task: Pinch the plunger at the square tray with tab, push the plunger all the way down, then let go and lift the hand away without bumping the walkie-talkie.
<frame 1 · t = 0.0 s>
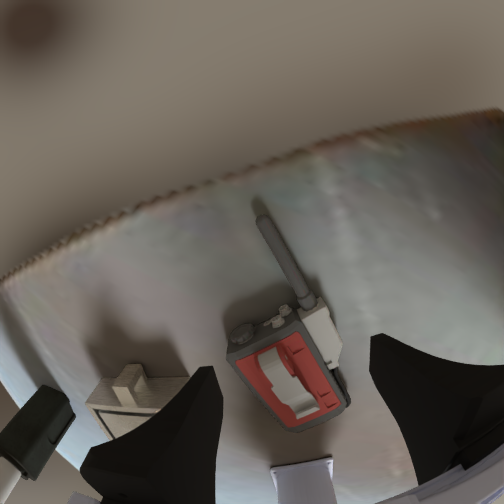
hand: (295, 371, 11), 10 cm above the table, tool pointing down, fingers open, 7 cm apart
walkie-talkie: (283, 337, 23), on the table
square tray with tab: (159, 413, 24), on the table
plunger: (141, 463, 17), point 7 cm above the table, slide at 3.5 cm
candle: (58, 401, 25), on the table
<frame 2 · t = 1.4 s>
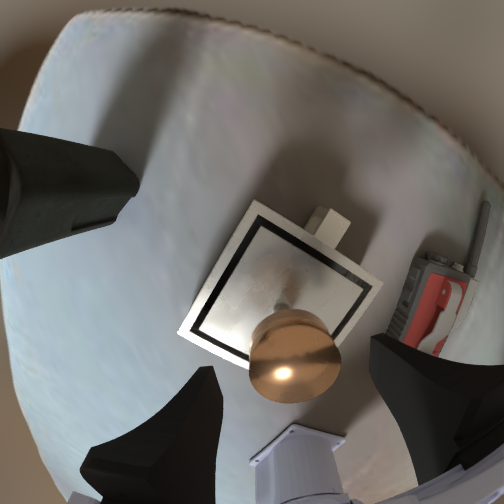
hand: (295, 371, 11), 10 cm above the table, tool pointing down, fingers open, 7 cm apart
walkie-talkie: (433, 287, 22), on the table
square tray with tab: (275, 287, 21), on the table
plunger: (287, 333, 14), point 7 cm above the table, slide at 3.5 cm
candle: (107, 187, 20), on the table
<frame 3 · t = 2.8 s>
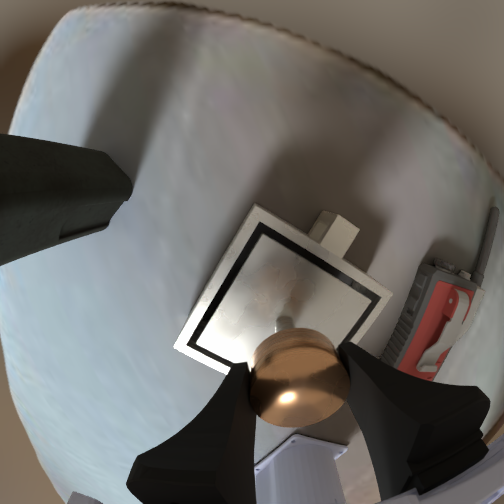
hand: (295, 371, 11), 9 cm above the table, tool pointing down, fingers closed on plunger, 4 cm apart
walkie-talkie: (438, 295, 21), on the table
square tray with tab: (278, 297, 20), on the table
plunger: (290, 350, 13), point 7 cm above the table, slide at 3.5 cm, touching gripper
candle: (99, 190, 19), on the table
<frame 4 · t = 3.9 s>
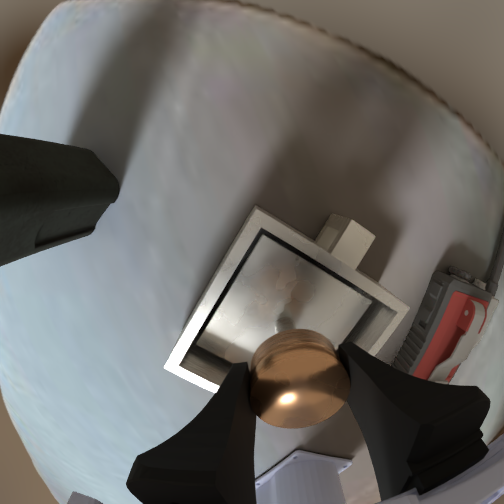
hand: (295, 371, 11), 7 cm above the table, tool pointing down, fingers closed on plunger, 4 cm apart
walkie-talkie: (450, 304, 19), on the table
square tray with tab: (281, 310, 18), on the table
plunger: (291, 351, 13), point 5 cm above the table, slide at 1.3 cm, touching gripper
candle: (84, 192, 16), on the table
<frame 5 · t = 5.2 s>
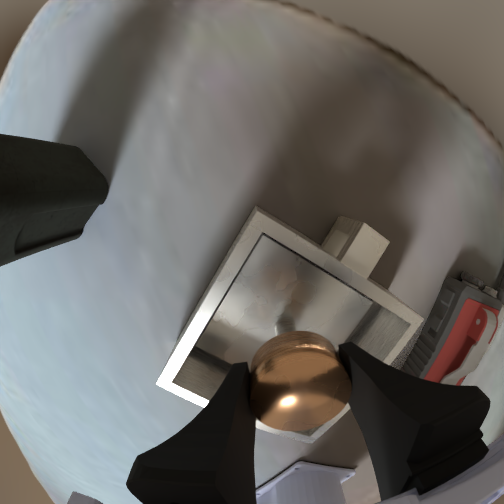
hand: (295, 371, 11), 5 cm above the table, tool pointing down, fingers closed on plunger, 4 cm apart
walkie-talkie: (459, 312, 17), on the table
square tray with tab: (283, 320, 16), on the table
plunger: (291, 353, 13), point 4 cm above the table, slide at -0.1 cm, touching gripper
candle: (72, 192, 15), on the table
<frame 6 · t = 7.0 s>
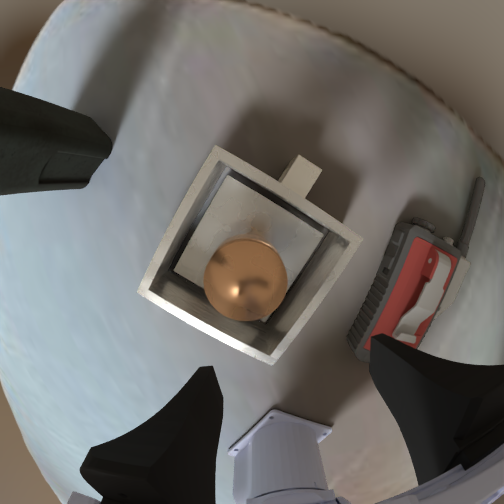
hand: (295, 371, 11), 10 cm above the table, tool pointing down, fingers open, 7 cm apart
walkie-talkie: (419, 262, 21), on the table
square tray with tab: (247, 250, 20), on the table
plunger: (246, 264, 16), point 4 cm above the table, slide at -0.1 cm
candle: (83, 152, 18), on the table
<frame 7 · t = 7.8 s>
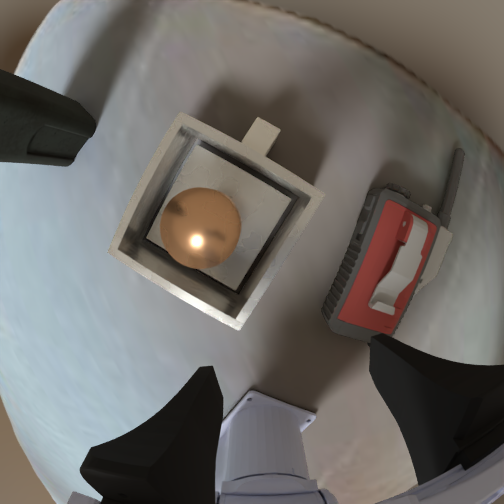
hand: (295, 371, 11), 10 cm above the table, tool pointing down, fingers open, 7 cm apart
walkie-talkie: (397, 233, 21), on the table
square tray with tab: (217, 217, 20), on the table
plunger: (209, 222, 16), point 4 cm above the table, slide at -0.1 cm
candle: (70, 133, 19), on the table
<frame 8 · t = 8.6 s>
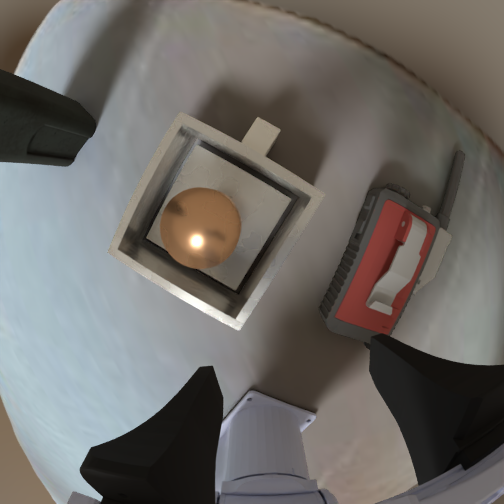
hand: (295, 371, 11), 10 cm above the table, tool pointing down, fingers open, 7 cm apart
walkie-talkie: (396, 234, 21), on the table
square tray with tab: (217, 217, 20), on the table
plunger: (209, 222, 16), point 4 cm above the table, slide at -0.1 cm
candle: (70, 133, 19), on the table
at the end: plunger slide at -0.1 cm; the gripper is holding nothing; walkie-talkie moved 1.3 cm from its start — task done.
